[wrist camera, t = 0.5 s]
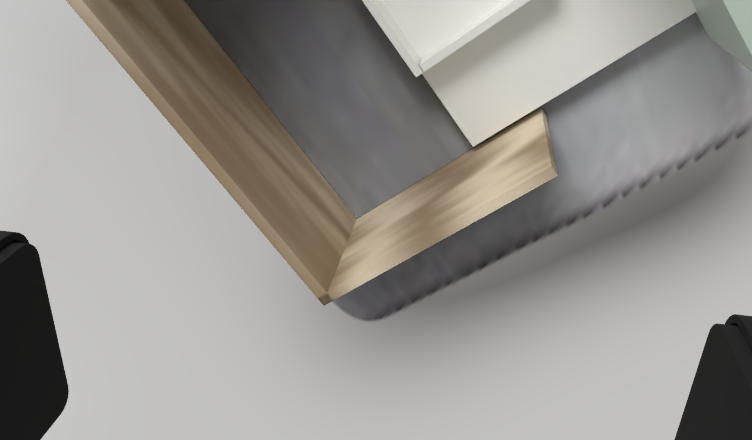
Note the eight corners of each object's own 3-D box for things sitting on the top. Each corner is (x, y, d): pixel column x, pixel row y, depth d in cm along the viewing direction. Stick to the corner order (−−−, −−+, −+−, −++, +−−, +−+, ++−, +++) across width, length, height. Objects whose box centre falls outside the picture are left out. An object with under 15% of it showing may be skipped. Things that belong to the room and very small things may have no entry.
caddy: (316, -239, 30) (262, -271, 23) (546, 115, 36) (557, 175, 29) (126, -57, 35) (34, -38, 28) (353, 230, 41) (323, 305, 34)
